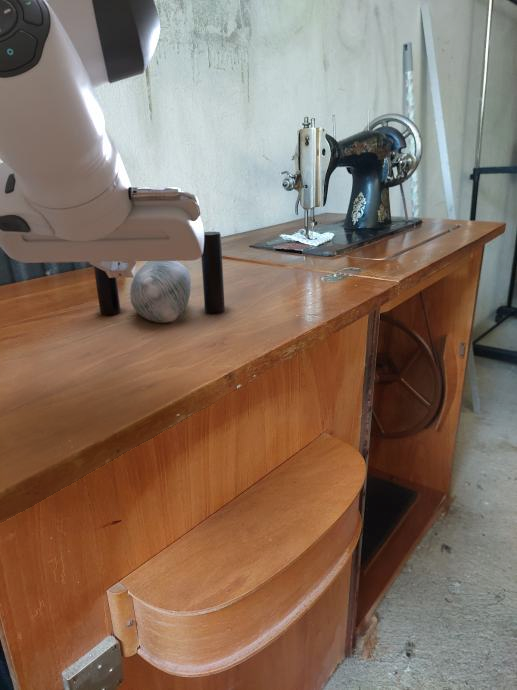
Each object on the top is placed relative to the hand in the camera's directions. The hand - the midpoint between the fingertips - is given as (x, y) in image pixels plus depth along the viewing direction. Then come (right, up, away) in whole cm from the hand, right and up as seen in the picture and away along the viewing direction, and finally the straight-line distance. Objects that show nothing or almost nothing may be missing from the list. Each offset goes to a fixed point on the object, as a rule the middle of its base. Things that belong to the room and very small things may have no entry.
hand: (123, 272), depth 59 cm
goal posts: (+1, -4, +20) cm, 20 cm away
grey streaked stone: (+1, -4, +19) cm, 20 cm away
